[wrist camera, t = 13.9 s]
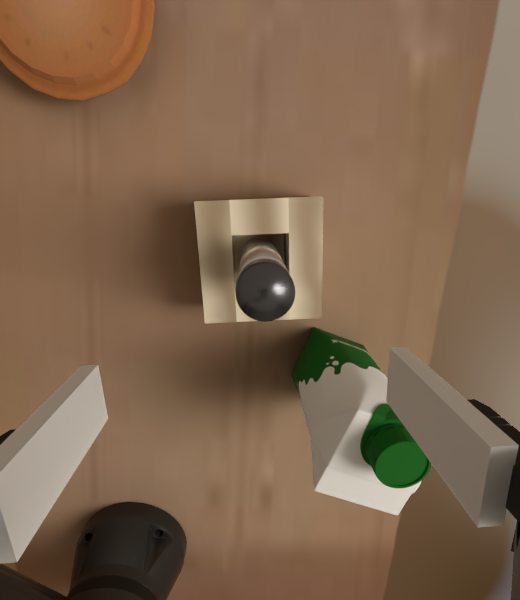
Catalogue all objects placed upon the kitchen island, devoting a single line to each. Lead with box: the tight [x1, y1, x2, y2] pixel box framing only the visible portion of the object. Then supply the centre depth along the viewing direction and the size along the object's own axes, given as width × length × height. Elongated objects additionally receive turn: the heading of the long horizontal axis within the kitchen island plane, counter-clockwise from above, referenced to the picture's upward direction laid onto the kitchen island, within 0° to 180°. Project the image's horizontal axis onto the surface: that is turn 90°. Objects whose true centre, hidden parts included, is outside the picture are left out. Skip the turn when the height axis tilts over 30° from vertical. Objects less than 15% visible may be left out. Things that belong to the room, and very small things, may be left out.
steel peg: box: [236, 237, 295, 321], centre depth 30 cm, size 4×4×16 cm
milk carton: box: [291, 328, 431, 515], centre depth 34 cm, size 9×9×20 cm
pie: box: [0, 0, 155, 101], centre depth 30 cm, size 15×16×5 cm
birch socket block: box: [194, 196, 323, 323], centre depth 36 cm, size 12×12×6 cm
